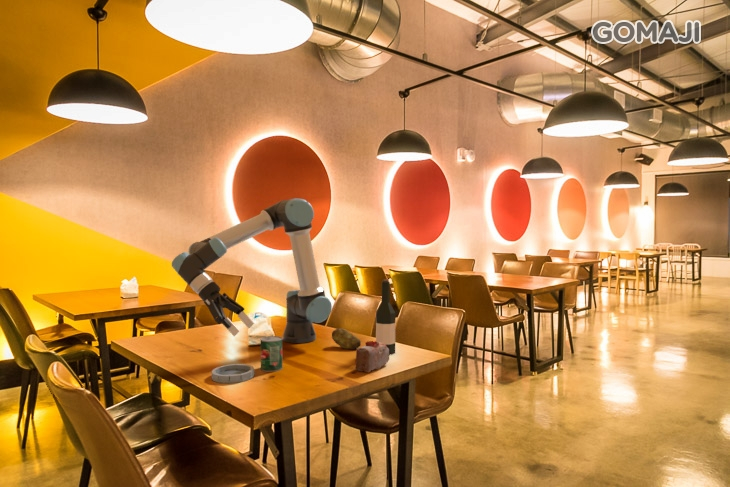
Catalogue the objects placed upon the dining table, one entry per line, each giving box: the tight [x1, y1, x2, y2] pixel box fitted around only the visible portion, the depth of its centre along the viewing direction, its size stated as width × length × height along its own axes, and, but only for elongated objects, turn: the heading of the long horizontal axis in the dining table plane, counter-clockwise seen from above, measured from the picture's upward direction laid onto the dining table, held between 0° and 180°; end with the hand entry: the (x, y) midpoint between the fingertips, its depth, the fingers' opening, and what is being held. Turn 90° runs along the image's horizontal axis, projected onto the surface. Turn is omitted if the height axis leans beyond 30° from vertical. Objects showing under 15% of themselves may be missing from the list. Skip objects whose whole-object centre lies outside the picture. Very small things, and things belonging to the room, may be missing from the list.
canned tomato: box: [260, 335, 283, 373], centre depth 168 cm, size 8×8×11 cm
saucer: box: [211, 363, 256, 384], centre depth 159 cm, size 14×14×2 cm
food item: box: [354, 340, 390, 373], centre depth 170 cm, size 14×8×10 cm, turn 148°
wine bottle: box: [375, 279, 396, 355], centre depth 191 cm, size 8×8×30 cm
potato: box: [331, 327, 362, 350], centre depth 199 cm, size 8×13×8 cm, turn 44°
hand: (244, 329), depth 169 cm, fingers open, 13 cm apart
